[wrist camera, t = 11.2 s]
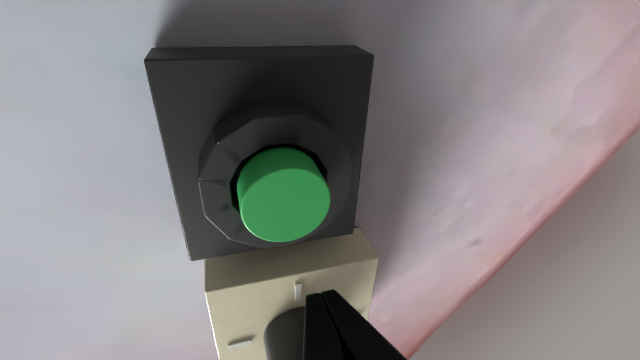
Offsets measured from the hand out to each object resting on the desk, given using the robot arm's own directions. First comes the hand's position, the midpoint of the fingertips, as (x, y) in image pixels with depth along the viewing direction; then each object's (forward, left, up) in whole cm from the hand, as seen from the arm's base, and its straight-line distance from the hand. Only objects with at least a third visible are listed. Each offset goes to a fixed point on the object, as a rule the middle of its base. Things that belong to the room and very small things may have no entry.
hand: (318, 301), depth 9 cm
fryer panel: (+12, +1, -10) cm, 15 cm away
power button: (0, 0, -6) cm, 6 cm away
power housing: (0, 0, -10) cm, 10 cm away
